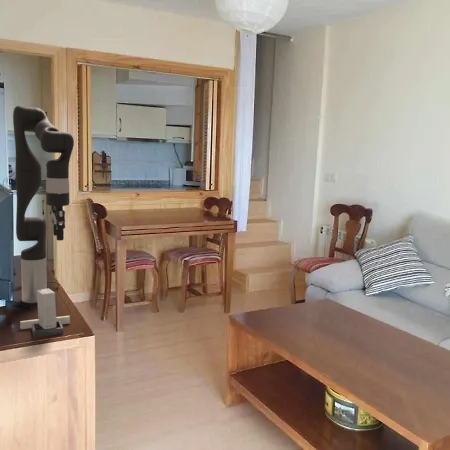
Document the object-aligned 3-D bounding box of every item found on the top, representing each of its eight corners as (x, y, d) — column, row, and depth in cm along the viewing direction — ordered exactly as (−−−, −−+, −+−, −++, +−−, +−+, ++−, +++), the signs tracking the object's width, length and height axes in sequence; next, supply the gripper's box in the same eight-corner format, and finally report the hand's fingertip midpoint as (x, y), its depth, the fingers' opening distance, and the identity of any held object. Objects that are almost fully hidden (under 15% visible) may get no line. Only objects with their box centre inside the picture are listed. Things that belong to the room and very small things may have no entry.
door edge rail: (20, 328, 162) (20, 321, 161) (69, 322, 169) (69, 315, 168) (20, 329, 161) (20, 322, 160) (69, 323, 168) (69, 316, 167)
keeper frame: (31, 329, 161) (31, 323, 161) (60, 325, 165) (60, 320, 165) (33, 337, 155) (33, 331, 154) (63, 333, 159) (63, 328, 158)
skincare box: (57, 327, 159) (56, 292, 157) (43, 330, 156) (42, 294, 154) (50, 321, 163) (50, 287, 161) (37, 324, 161) (36, 289, 158)
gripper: (43, 189, 167) (44, 234, 170) (48, 193, 154) (49, 242, 157) (66, 189, 170) (66, 233, 173) (72, 193, 158) (73, 241, 160)
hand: (58, 237), depth 165 cm, fingers open, 8 cm apart
